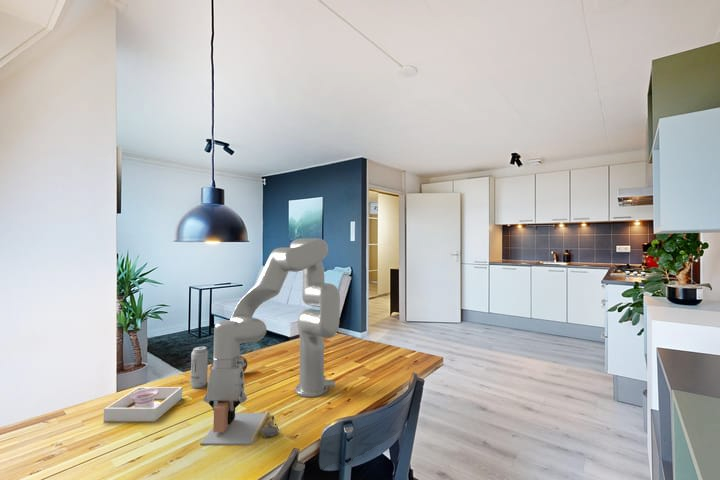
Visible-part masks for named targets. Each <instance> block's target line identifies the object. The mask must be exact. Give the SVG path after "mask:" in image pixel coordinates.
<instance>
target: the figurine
mask: <svg viewBox="0 0 720 480" xmlns="http://www.w3.org/2000/svg"><path fill="white" fill-rule="evenodd" d="M260 431H261V435H262V436H263V437H264V438H265V439H268V437H269V438H271V437H274V436H277V435H278V434H279V432H280V428H279V425H278V424H277V422H275V416H274V415H272V416H271V419H269V420H268V421H267V425H264V426H262V428H261V430H260Z"/></svg>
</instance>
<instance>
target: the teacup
mask: <svg viewBox="0 0 720 480" xmlns="http://www.w3.org/2000/svg"><path fill="white" fill-rule="evenodd" d="M157 394H158V389H155V388H146V389H141V390H138V391H135V392H134V393H132V395H131V399H132V400H134V401H133V403H134V405H132V406H130V407H129V408H155V407H156V406H157V405H159V404H160V403H161V402H162V401H155V397H156V395H157Z"/></svg>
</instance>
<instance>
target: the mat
mask: <svg viewBox="0 0 720 480" xmlns="http://www.w3.org/2000/svg"><path fill="white" fill-rule="evenodd" d="M269 415H270V410H265V412H235V419H234V420H233V421H232V423H231V424H230V425H229V426H228V427H227V428H226V430H225V431H224V432H213V427H212V428H211V430H209V432H208V433H207V434H206V435H205V437H204V438H203V439H202V440H201V442H200V446H203V445H204V446H211V445H212V446H224V445H225V446H229V445H230V446H231V445H232V446H234V445H235V446H238V445H239V446H240V445H241V446H243V445H245V446H246V445H247V446H252V445H254V443H255V441H256V439H257V437H258V435H259V433H260V431H261V430H262V428H263V427H264V426H263V425H264V424H265V422H266V420H267V418H268V417H269Z"/></svg>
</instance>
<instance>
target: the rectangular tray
mask: <svg viewBox="0 0 720 480" xmlns="http://www.w3.org/2000/svg"><path fill="white" fill-rule="evenodd" d="M146 388H155V389H158V394H157V395H156V397H155V399H156V400H163V401H160V402H161V403H160V404H159V405H157V406H156V407H155V408H130V407H129V406H130V405H132V404H133V403H134V402H133V401H134V400H132V399H131V395H132V393H134V392H135V391H138V390H141V389H146ZM155 399H154V400H155ZM182 399H183V386H138V387H136V388H133V390H131V391H130V392H128V393H126V394H125V395H123V396H122V397H121V398H119V399H117V400H116V401H115V400H114V402H112V403H110V404H109V405H108V406H106V407H105V408H104V407H103V422H156V421H157V420H158V419H159V418H161V417H163V415H164V414H165V413H167V412H168V411H169V410H170V409H171V408H172V407H174V406H175V405H176V404H177V403H178V402H179V401H180V400H182Z"/></svg>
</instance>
